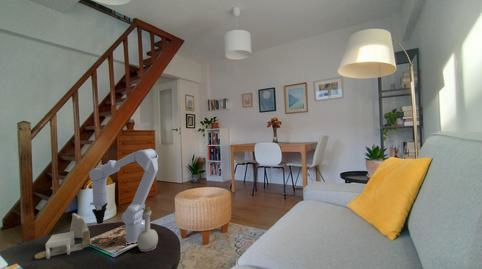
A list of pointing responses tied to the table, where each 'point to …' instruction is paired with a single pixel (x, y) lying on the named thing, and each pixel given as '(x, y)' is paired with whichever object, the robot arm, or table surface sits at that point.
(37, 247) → the table surface
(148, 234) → the potion bottle
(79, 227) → the stone
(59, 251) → the blade tool
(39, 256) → the token
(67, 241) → the white toy table
